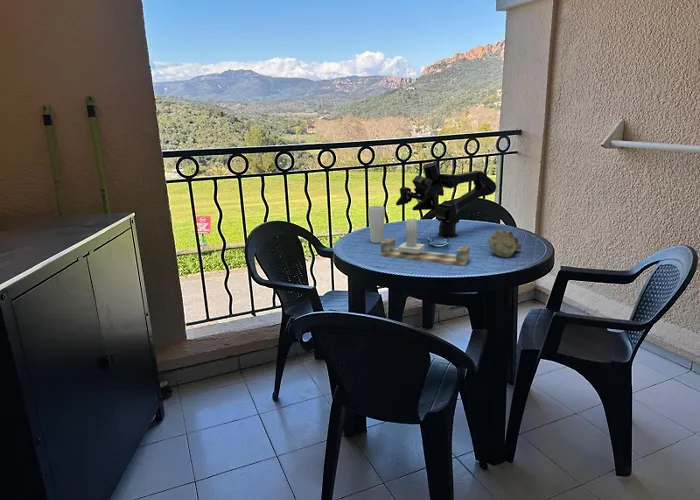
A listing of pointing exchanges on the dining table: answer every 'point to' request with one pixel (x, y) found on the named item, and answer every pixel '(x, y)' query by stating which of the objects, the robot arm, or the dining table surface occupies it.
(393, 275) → the dining table surface
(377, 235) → the drinking glass
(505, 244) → the seashell
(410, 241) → the carriage
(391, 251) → the wooden slide rail
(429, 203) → the robot arm
